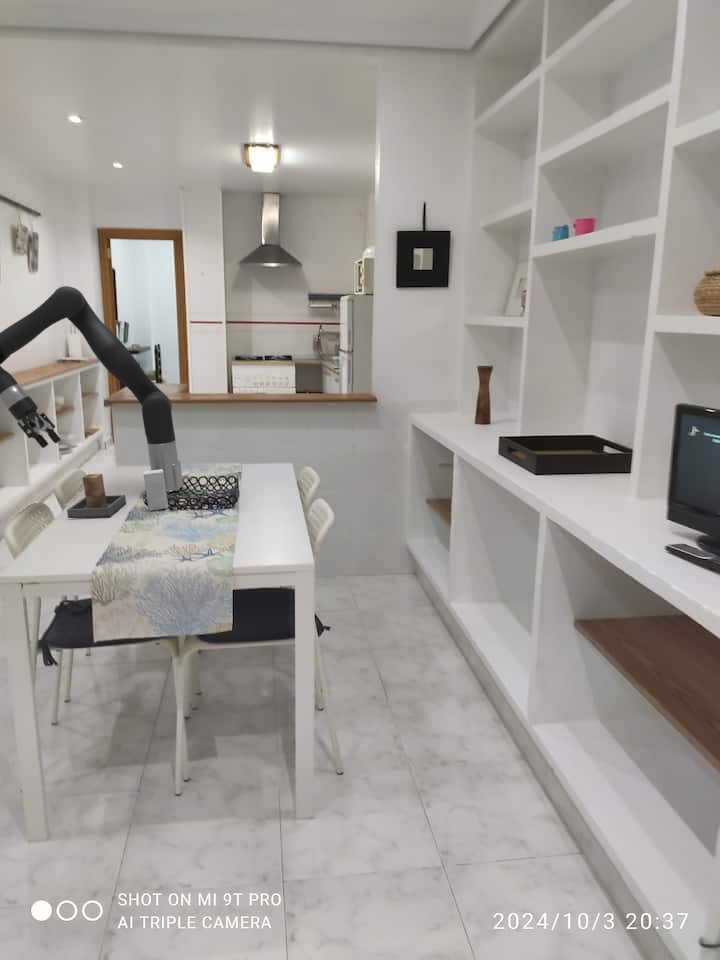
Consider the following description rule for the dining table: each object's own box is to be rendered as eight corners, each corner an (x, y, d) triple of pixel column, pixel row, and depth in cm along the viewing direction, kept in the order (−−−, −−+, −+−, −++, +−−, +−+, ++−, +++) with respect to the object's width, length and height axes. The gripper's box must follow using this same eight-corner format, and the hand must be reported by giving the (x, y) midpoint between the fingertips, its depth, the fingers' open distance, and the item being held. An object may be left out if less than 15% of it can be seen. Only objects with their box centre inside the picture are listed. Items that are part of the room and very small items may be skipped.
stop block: (107, 507, 223) (102, 473, 220) (101, 511, 219) (96, 477, 216) (93, 507, 223) (88, 474, 220) (88, 511, 219) (82, 478, 216)
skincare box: (167, 504, 224) (163, 468, 221) (168, 508, 220) (163, 471, 217) (148, 507, 222) (143, 471, 219) (148, 511, 218) (143, 474, 215)
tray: (126, 503, 228) (125, 494, 227) (110, 517, 214) (108, 508, 213) (87, 505, 228) (85, 496, 227) (68, 519, 215) (66, 509, 214)
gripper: (15, 397, 212) (50, 441, 214) (38, 393, 226) (70, 433, 228) (-3, 412, 213) (32, 454, 216) (20, 406, 227) (53, 446, 229)
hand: (52, 443), depth 222 cm, fingers open, 8 cm apart
